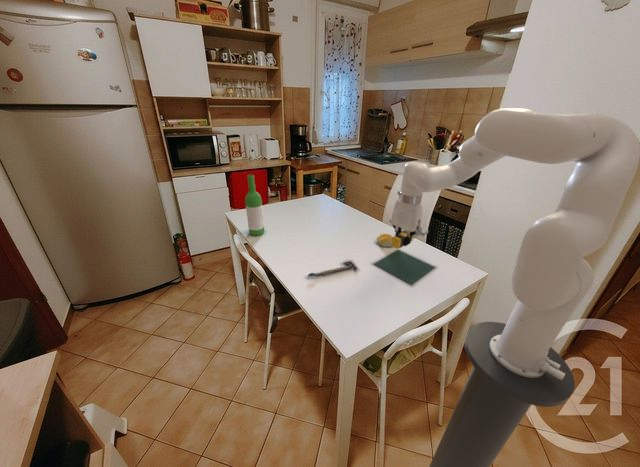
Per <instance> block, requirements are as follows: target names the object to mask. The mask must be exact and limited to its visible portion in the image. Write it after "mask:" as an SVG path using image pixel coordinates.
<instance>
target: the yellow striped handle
mask: <svg viewBox="0 0 640 467" xmlns="http://www.w3.org/2000/svg"><path fill="white" fill-rule="evenodd" d="M421 230H422V233H421V234H417V235H413V236H412V238H411V242H413V240H414V239H416V238H418V237H419V236H423V237H424V236H426V235H428V234H429V230H427V229H425V228H422V227H421ZM401 231H402V232H401V233H399V234H397V235H395V234H394V236H392V237H393V238H392V244H391V246H390V247H391V248H394V249H397V250H399V249H401V248H403V247H405V246H404V241H405V237H406V236H407V230H405V229H403V230H401ZM415 231H417V230H415Z"/></svg>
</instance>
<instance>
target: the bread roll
mask: <svg viewBox="0 0 640 467" xmlns="http://www.w3.org/2000/svg"><path fill="white" fill-rule="evenodd" d="M393 237H394V236H392V235H391V234H390V233H381V234H379V235H378V236H377V237H376V242H377V244H378V245H380V246H382V247H386V248H387V247H388V248H391V247H392V246H391V244H392V238H393Z"/></svg>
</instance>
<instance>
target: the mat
mask: <svg viewBox="0 0 640 467" xmlns="http://www.w3.org/2000/svg"><path fill="white" fill-rule="evenodd" d="M373 265H374V266H376V267H378V268H380V269H382V270H383V271H385V272H387V273H389V274H391V275H392V276H394V277H396V278H397V279H400V280H401V281H402V282H403V281H404V282H405V283H406V284H409V285H410V286H411V285H413V284H415V283H416V282H417V281H418V280H420V279H421V278H422V277H424V276H425V275H426V274H428V273H429V272H431V271H432V270H433V269H435V266H433V265H431V264H430V263H427V262H425V261H423V260H421V259H418V258H416V257H414V256H412V255H410V254H408V253H406V252H404V251H402V250H399V249H397V250H396V251H394V252H392V253H390V254H388V255H386V256H385V257H383V258H381V259H380V260H378V261H376V262H375V263H373Z"/></svg>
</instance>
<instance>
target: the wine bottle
mask: <svg viewBox="0 0 640 467" xmlns="http://www.w3.org/2000/svg"><path fill="white" fill-rule="evenodd" d="M255 183H256V182H255V175H254V174H248V175H247V184H248V185H247V186H248V192H247V194H246V195H245V198H244V202H245V209H246V210H245V212H246V218H247V219H246V220H247V226H248V231H249V232H248V233H249V234H250V235H251V236H261V235H263V234H264V233H265V220H264V211H263V201H262V196H261V195H260V193H259V192H257V191H256V184H255Z"/></svg>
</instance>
